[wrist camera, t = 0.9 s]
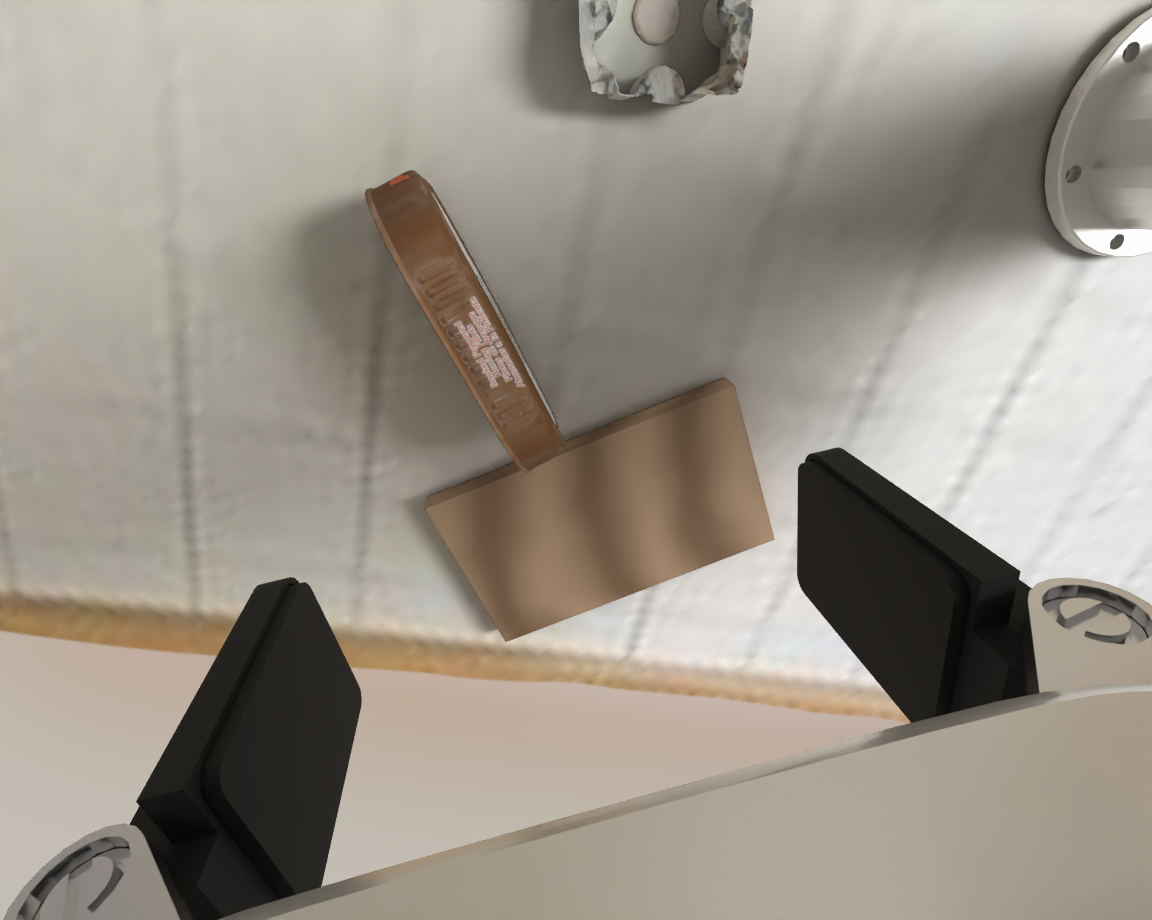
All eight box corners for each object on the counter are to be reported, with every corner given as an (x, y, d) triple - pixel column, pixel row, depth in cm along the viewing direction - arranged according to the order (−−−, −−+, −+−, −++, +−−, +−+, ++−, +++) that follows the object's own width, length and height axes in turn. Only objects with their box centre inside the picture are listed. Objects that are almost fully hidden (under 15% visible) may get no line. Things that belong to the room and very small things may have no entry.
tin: (379, 192, 28) (334, 194, 20) (434, 162, 28) (409, 153, 20) (519, 437, 35) (524, 507, 27) (565, 415, 34) (583, 479, 27)
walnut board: (725, 377, 34) (734, 385, 33) (765, 527, 40) (774, 539, 38) (427, 497, 36) (424, 509, 34) (505, 627, 41) (505, 642, 40)
